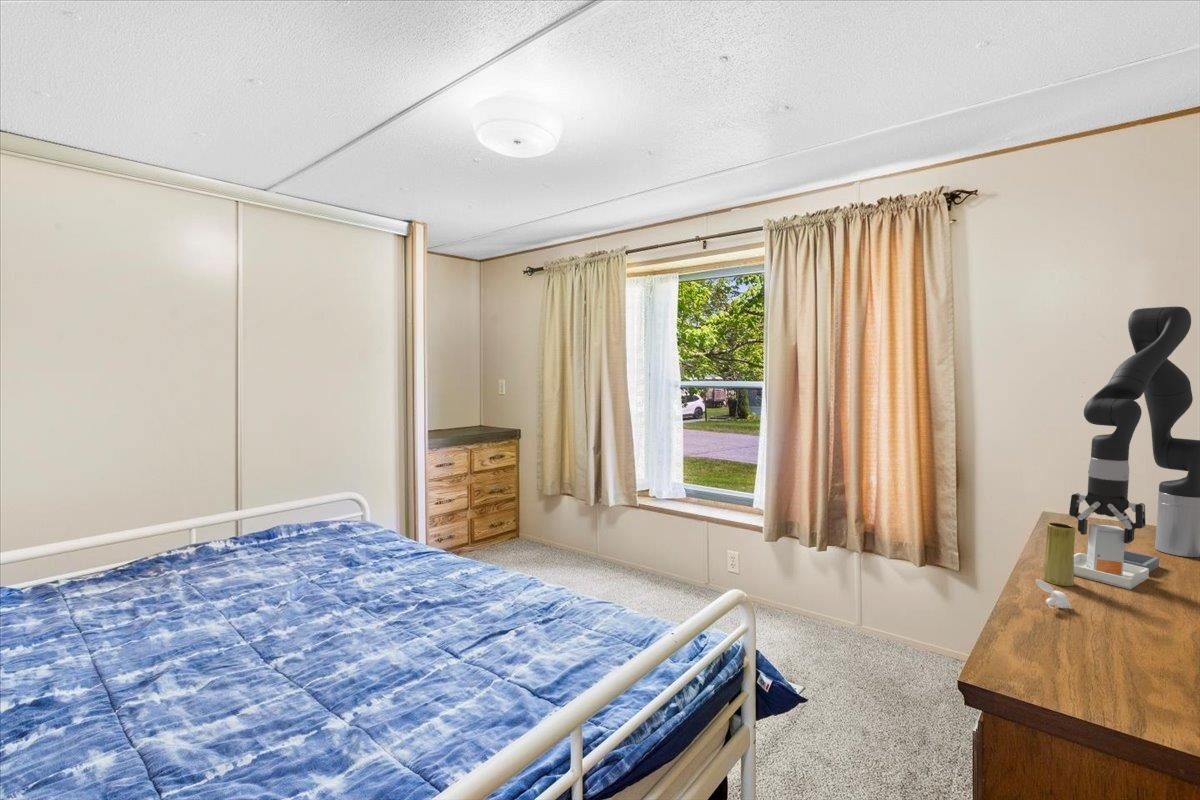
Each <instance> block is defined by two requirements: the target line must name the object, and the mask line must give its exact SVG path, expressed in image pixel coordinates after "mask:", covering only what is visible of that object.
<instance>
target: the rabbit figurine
mask: <svg viewBox="0 0 1200 800" xmlns="http://www.w3.org/2000/svg"><path fill="white" fill-rule="evenodd" d="M1035 583H1036V586H1038V587H1039V588H1040V589H1041V590H1043V591H1044V592H1046V593H1049V594H1051V595H1050V596H1049V597H1048V598H1046V599H1045V603H1046V605H1048V607H1049V608H1050V609H1052V610H1054V607H1053V606H1051V605H1055V606H1056V607H1057V608H1060V609H1067V608H1069V610H1073V606H1071V603H1070V601H1069V598H1068V596H1067V594H1066V593H1064V592H1062V591H1059V590H1054V587H1053V586H1051V585H1050V583H1048V582H1046V581H1043V579H1035Z"/></svg>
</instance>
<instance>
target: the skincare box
mask: <svg viewBox="0 0 1200 800" xmlns="http://www.w3.org/2000/svg"><path fill="white" fill-rule="evenodd" d="M1088 526H1089V528H1088V539H1087V541H1088V542H1087V551H1086V552H1087V564H1086V568H1089V569H1093V570H1097V571H1101V572H1105V573H1109V574H1113V575H1117V576H1121V577H1122V574H1123V562H1124V550H1126V549H1125V548H1126V543H1124V533H1125V528H1124V529H1123V528H1122V527H1120V526H1118V525H1117V526H1115V525H1109V524H1108V525H1106V524H1093V523H1089V525H1088Z"/></svg>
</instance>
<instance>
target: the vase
mask: <svg viewBox="0 0 1200 800" xmlns="http://www.w3.org/2000/svg"><path fill="white" fill-rule="evenodd" d="M1075 538H1076V527H1075V526H1073V525H1071V524H1067V523H1061V522H1048V523H1047V533H1046V541H1045V551H1044V561H1043V572H1042V573H1043V574H1042V576H1041V580H1042V581H1043V580H1044V582H1046V583H1048V584H1052V585H1055V586H1060V587H1061V586H1062V587H1072V586H1075V575H1074V554H1075Z"/></svg>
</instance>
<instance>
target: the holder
mask: <svg viewBox="0 0 1200 800" xmlns="http://www.w3.org/2000/svg"><path fill="white" fill-rule="evenodd" d="M1123 563H1127V564H1131V565H1135V566H1140V567H1144V568H1148V569H1149V573H1151V572H1152V571H1154V570H1156V569H1157V568H1159V567H1160V565H1159V564H1160V557H1159V556H1158V557H1157V556H1154V555H1148V554H1144V553H1140V552H1133V551H1130V550H1126V549H1125V550H1124V562H1123Z"/></svg>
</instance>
